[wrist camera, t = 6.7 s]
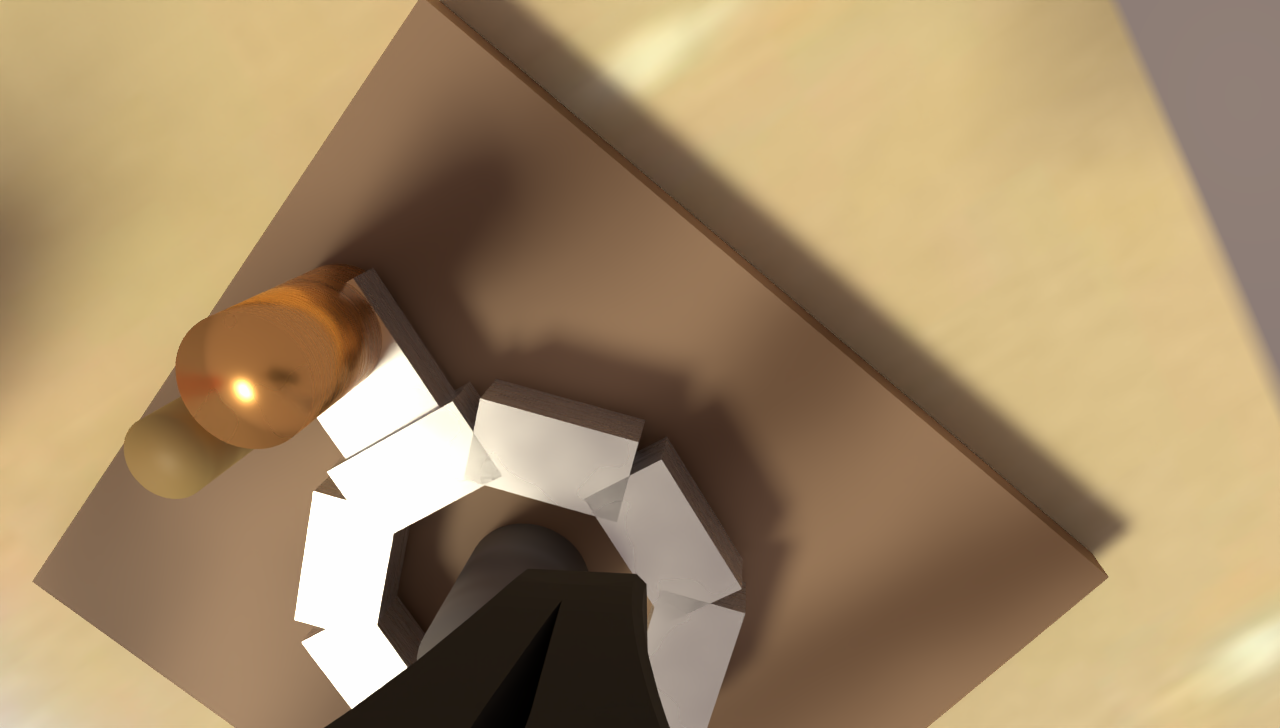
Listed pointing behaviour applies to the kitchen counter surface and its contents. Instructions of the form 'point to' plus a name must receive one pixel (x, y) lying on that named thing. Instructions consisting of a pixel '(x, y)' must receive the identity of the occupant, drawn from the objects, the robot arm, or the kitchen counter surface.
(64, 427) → the kitchen counter surface
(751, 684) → the peg base
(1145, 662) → the kitchen counter surface
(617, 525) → the white segmented ring
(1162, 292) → the kitchen counter surface
